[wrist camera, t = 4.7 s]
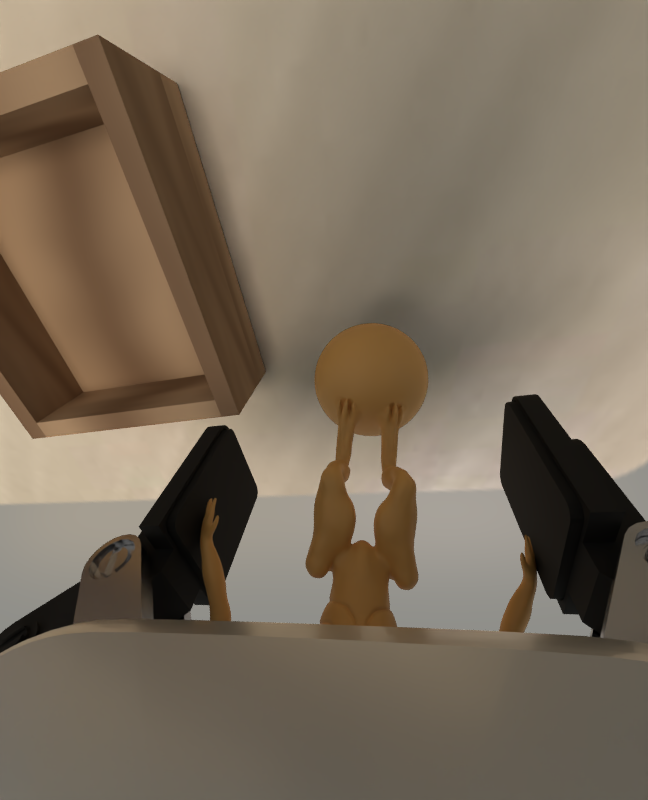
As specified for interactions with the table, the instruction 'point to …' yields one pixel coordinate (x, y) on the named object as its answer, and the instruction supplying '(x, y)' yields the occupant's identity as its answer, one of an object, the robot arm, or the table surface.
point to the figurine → (397, 516)
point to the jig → (112, 253)
